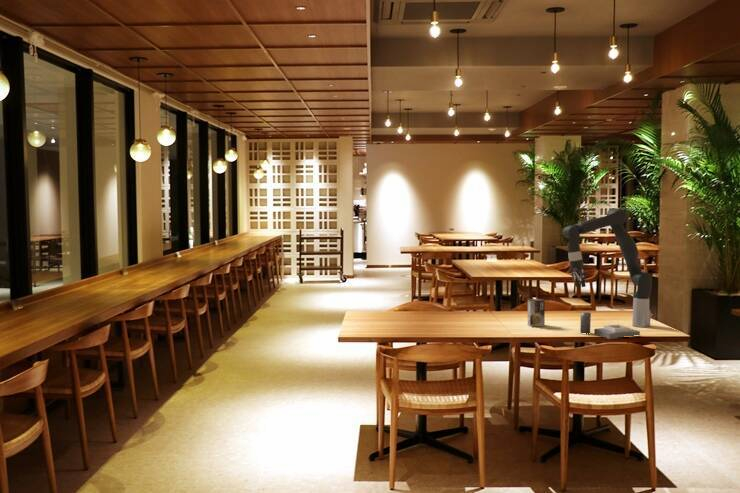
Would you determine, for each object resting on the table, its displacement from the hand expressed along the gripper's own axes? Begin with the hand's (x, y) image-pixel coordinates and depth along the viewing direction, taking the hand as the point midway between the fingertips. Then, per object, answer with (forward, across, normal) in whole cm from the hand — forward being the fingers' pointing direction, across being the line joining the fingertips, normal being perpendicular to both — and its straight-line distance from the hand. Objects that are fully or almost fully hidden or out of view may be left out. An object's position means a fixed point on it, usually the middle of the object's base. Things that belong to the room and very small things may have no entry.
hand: (580, 286), depth 406 cm
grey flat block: (+30, -11, -11) cm, 34 cm away
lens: (+27, -4, +4) cm, 27 cm away
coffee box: (+20, +21, +24) cm, 38 cm away
